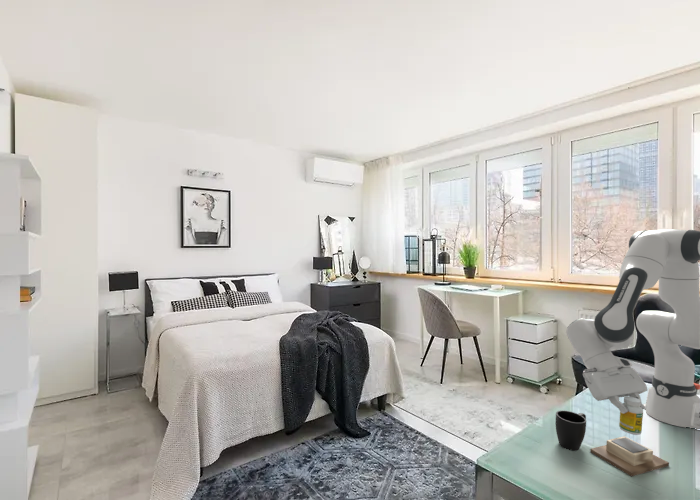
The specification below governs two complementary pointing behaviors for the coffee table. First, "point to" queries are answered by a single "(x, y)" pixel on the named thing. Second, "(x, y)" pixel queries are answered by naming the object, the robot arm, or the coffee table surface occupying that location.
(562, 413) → the mug
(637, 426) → the supplement bottle
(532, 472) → the coffee table surface
